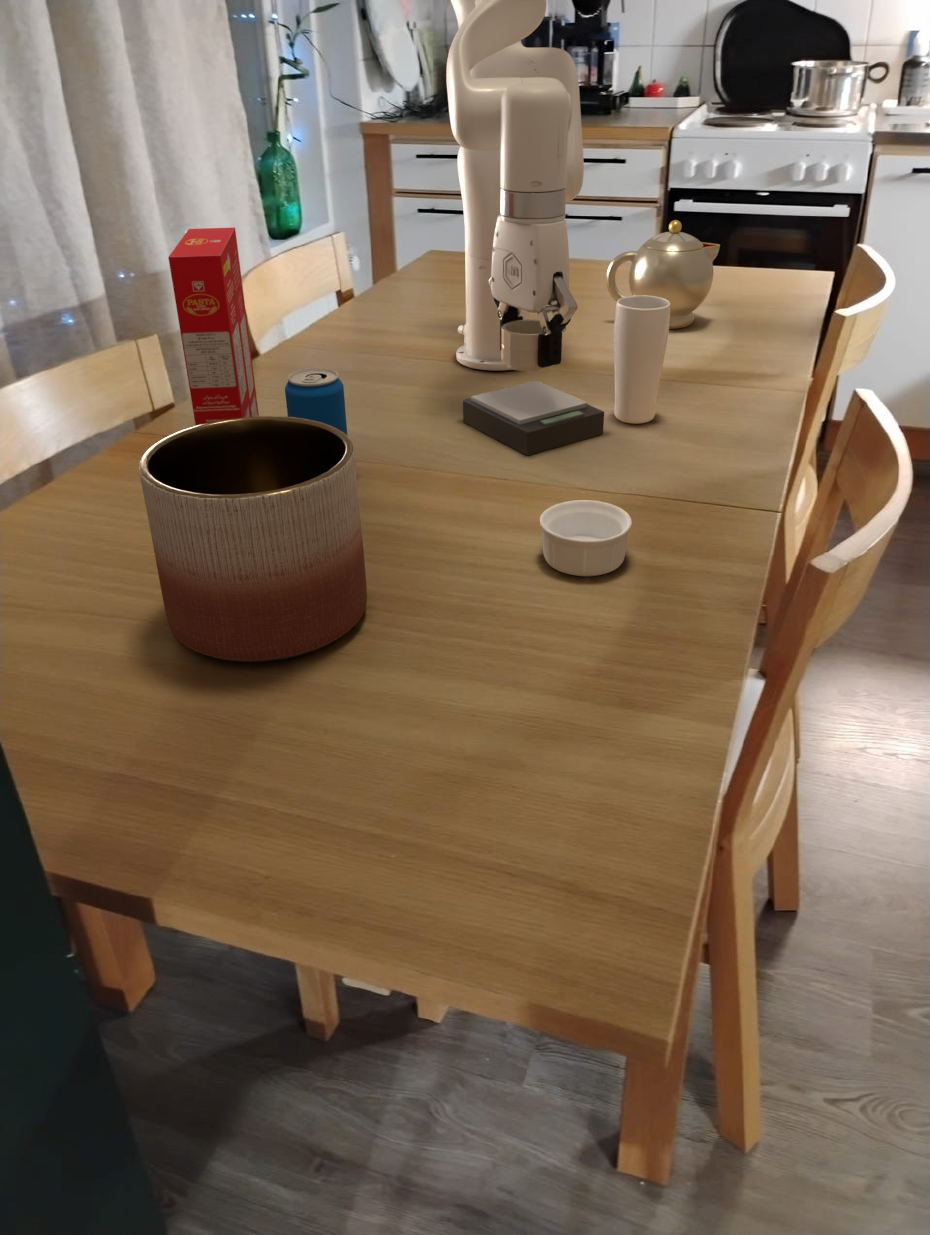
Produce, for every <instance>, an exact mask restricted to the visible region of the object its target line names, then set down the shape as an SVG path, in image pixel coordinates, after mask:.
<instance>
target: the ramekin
mask: <svg viewBox="0 0 930 1235" xmlns="http://www.w3.org/2000/svg"><path fill="white" fill-rule="evenodd" d="M632 524H633V519H632V518H631V516H630V515H629V513H628V512H627V511H626V510H625V509H623V508H621V507H620V506H617V505H614V504H612V503H610V502H605V501H601V500H594V499H593V500H592V499H576V500H568V501H563V502H559V503H556V504H553V505H551V506H550V507H548V508H546V509H544V510H543V512H542V513H541V514H540V517H539V526H540V529H541V537H542V538H541V539H542V552H543V557H544V559H545V562H546V563H547V564H548V565H549V566H550V567H551V568H552V569H555V570H556V571H558V572H561V573H562V574H567V575H569V576H574V577H575V576H577V577H597V576H602V575H606V574H609V573H611V572H613V571H616V569H618V568H619V567H621V565H622V564H623V562H624V560H625V556H626V550H627V545H628V538H629V534H630V532H631V530H632Z"/></svg>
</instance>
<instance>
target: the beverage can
mask: <svg viewBox="0 0 930 1235" xmlns="http://www.w3.org/2000/svg"><path fill="white" fill-rule="evenodd" d="M339 377H340V375H339V372H338V371H336V370H334V369H331V368H327V367H326V368H325V367H307V368H302V369H298V370H295V371H293V372H291V373H289V374H288V376H287V383H286V384H285V387H284V395H285V402H286V411H287V417H295V418H303V419H309V420H314V421H318V422H321V423H325V424H328V425H330V426H333V427H335V428H337V429H339V430H340V431H342V432H343V433H345V434H346V435H347V436H348V425H347V412H346V401H345V388H344V383H343V381H342V380H341V379H340V378H339Z"/></svg>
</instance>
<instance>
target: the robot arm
mask: <svg viewBox="0 0 930 1235" xmlns="http://www.w3.org/2000/svg"><path fill="white" fill-rule="evenodd" d="M450 3H451V6H452V8H453V11H454V14H455V17H456V21H457V26H458V27H457V28H458V30H457V31H456V33H455V35H454V37H453V39H452V41H451V44H450V47H449V50H448V55H447V60H446V71H445V72H446V73H445V77H446V78H445V79H446V81H445V82H446V94H447V103H448V114H449V115H448V116H449V122H450V126H451V127H450V129H451V133H452V135H453V138H454V139H455V141H456V143H458V145H459V149H458V152H457V159H456V160H457V161H456V162H457V166H456V167H457V176H458V181H459V188H460V195H461V203H462V210H463V211H462V212H463V226H464V229H463V230H464V262H465V263H464V264H465V266H464V267H465V270H464V271H465V323H464V325H463V324H460V325H459V326H458V328H457V333H458V334H459V335H462V336H463V337H464V342H463V343H464V344H463V345H461V346H459V347H458V348H457V350H456V352H455V355H456V357H455V358H456V360H457V362H458V363H459V364H460V365H462V366H464V367H468V368H471V369H475V370H480V371H481V370H482V371H491V372H492V371H493V372H494V371H496V372H497V371H499V372H500V371H515V370H514V369H511V368H508V367H507V366H506V364H505V363H504V362H503V361H502V360H501V328H502V326H503V325H504V324H506V323H508V322H511V321H516V320H527V319H530V313H532V314H537V318H538V320H539V322H540V326H541V330H542V334H538V366H539V367H541V368H544V367H548V366H552V365H554V366H556V365H559V364H560V365H561V363H562V348H563V333H565V331H566V330H567V326H568V325H569V324H570V323H571V320H572V317H573V316H574V315H575V313H576V312H577V310H578V308H579V307H578V303H577V301H576V299H575V297H574V296H573V294H572V292H571V291H570V249H569V236H568V235H569V234H568V227H567V221H566V220H565V219H566V206H567V204H566V203H567V202H571V201H573V200H574V199H575V198H577V197H578V195H579V194H580V192H581V190H582V186H583V182H584V175H585V174H584V172H585V170H584V169H585V164H584V144H583V142H584V141H583V128H582V112H581V98H580V97H581V94H580V83H579V76H578V70H577V66H576V63H575V61H574V59H573V57H572V55H571V54H570V53H569V52H568V51H566V50H565V49H563V48H559V47H551V46H550V47H549V46H547V47H545V46H544V47H526V46H524V45H523V43H522V40H524V39H525V38H527V37H529V36H530V35H532V34H533V32H535V30H537V29H538V28H539V26H540V25H541V23H542V22H543V20H544V18H545V14H546V13H547V12H546V11H547V0H450ZM549 313H551V314H552V316H553V317H552V318H551V319H550V320H549V316H548V314H549ZM549 321H550V322H549Z"/></svg>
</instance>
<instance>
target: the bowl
mask: <svg viewBox="0 0 930 1235" xmlns="http://www.w3.org/2000/svg"><path fill="white" fill-rule="evenodd" d="M549 322H550V320H549ZM538 334H542V330H541V326H540V322H539V319H531V318H529V319H527V320H516V321H511V322H508V323H506V324H504V325H503V326H502V328H501V360H502V361H503V362H504V363H505V364H506V366H507V367H508V368H511V369H514V370H513V371H519V372H541V371H546V370H549V369H551V368H553V367H554V366H555V365H552V366H548V367H544V368H541V367H539V366H538Z"/></svg>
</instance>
